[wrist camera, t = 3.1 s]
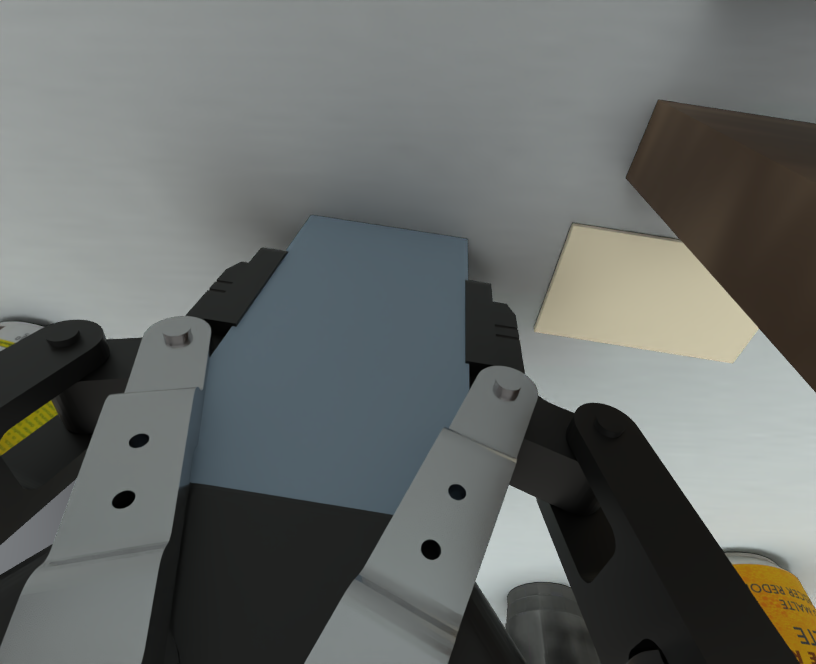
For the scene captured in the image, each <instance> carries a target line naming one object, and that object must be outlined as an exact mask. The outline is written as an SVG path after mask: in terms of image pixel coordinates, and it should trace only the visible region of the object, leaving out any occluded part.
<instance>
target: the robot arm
mask: <svg viewBox="0 0 816 664" xmlns="http://www.w3.org/2000/svg"><path fill="white" fill-rule="evenodd" d="M287 253H288V251H282V250H276V249H269V248H261V249H260V250H259V251H258V252H257V253H256V255H255V256H254V257H253V258H252V260H251V261H250V262H249V263H246V262H240V263H238V264H236V265H234V266H232V267H230V268H228V269H226V270H225V271H224V272H223V273H222V275H221V276H220V277H219V278H218V279H217V282H215V283H214V284H213V285H212V286H211V287H210V290H208V291H207V292H206V293H205V294H204V295H203V296H202V297H201V299H200V300H199V301H198V302H197V303H196V304H195V305H194V307H193V308H192V309H191V310H190V311H189V312H188V313H187V314H186V316H177V317H171V318H167V319H164V320H161V321H159V322H157V323H155V324H153V325H152V326H150V327H149V328H148V329H147V330H146V332H145V333H144V335H143V337H142V338H127V339H108V340H106V338H105V335H104V332H103V329H102V328H101V326H99V325H98V324H97V323H94V322H91V321H87V320H68V321H62V322H58V323H54V324H51V325H48V326H46V327H44V328H42V329H40V330H38V331H36V332H34V333H32V334H31V335H29V336H27V337H25V338H23V339H22V340H20V341H18V342H16V343H14V344H13V345H11V346H9V347H7V348H5V349H3V350H2V351H0V440H1V438H2V437H3V435H4V434H5V433H6V432H7V431H8V430H9V429H11V428H12V427H13V426H15V425H16V424H18V423H19V422H20V421H22V420H23V419H25V418H26V417H28V416H29V415H31V414H32V413H33V412H35V411H36V410H38V409H39V408H41V407H42V406H44V405H45V404H46V403H48V402H49V401H52V403H53V405H54V407H55V409H56V411H57V413H58V415H56V416H55V417H53V418H52V419H51V420H49V421H48V422H47V423H45V424H44V425H42V426H41V427H40V428H38V429H37V430H36V431H34V432H33V433H31V434H30V435H29V436H27V437H26V438H25V439H23V440H22V441H20V442H19V443H18V444H16V445H15V446H14V447H12V448H11V449H9V450H8V451H7V452H5V453H4V454H3V455H1V456H0V545H1V544H2V543H3V542H4V541H5V540H7V539H8V538H9V537H10V536H11V535H12V534H14V532H16V531H17V530H18V529H19V528H20V527H21V526H23V525H24V524H25V523H26V522H27V521H28V520H29V519H31V518H32V517H33V516H34V515H35V514H36V513H37V512H39V511H40V510H41V509H42V508H43V507H44V506H45V505H47V503H49V502H50V501H51V500H52V499H53V498H55V497H56V496H57V495H58V494H59V493H60V492H61V491H63V490H64V489H65V488H66V487H67V486H68V485H69V484H71V483H72V482H73V481H74V480H75V479H76V478H77V479H76V482H75V485H74V488H73V490H72V493H71V496H70V499H69V501H68V504H67V507H66V510H65V512H64V515H63V518H62V521H61V524H60V526H59V529H58V531H57V534H56V537H55V540H54V542H53V544H52V545H50V546H49V547H47V548H45V549H43V550H42V551H40V552H38V553H37V554H35V555H33V556H32V557H30V558H28V559H26V560H25V561H23V562H21V563H20V564H18V565H16V566H15V567H13V568H11V569H10V570H8V571H6V572H5V573H3V574H1V575H0V664H527V662H526V660H525V659H524V657H523V656H522V654H521V653H520V651H519V649H518V648H517V646H516V645H515V643H514V642H513V640H512V638H511V637H510V635H509V634H508V632H507V631H506V629H505V627H504V626H503V624H502V623H501V621H500V620H499V618H498V616H497V615H496V613H495V612H494V610H493V609H492V607H491V605H490V604H489V602H488V601H487V599H486V598H485V596H484V594H483V593H482V591H481V590H480V588H479V586H478V585H477V583H476V582H475V580H476V578H477V575H478V572H479V569H480V566H481V563H482V560H483V557H484V555H485V552H486V549H487V546H488V543H489V540H490V537H491V535H492V532H493V529H494V526H495V523H496V520H497V517H498V514H499V512H500V509H501V506H502V503H503V500H504V497H505V494H506V492H507V489H508V486H509V485H511V486H513V487H515V488H517V489H520V490H522V491H524V492H526V493H528V494H530V495H532V496H535V497H536V499H537V503H538V505H539V508H540V510H541V513H542V516H543V518H544V521H545V523H546V526H547V528H548V531H549V533H550V536H551V538H552V541H553V543H554V546H555V548H556V551H557V553H558V556H559V558H560V561H561V563H562V566H563V568H564V571H565V573H566V576H567V579H568V581H569V584H570V586H571V589H572V591H573V594H574V596H575V599H576V601H577V604H578V606H579V609H580V611H581V614H582V616H583V619H584V621H585V624H586V626H587V629H588V631H589V634H590V636H591V639H592V642H593V644H594V647H595V649H596V652H597V654H598V657H599V659H600V662H601V664H800V662H799V661H798V660H797V658H796V657H795V655H794V654H793V652H792V651H791V649H790V648H789V646H788V645H787V644H786V642H785V641H784V639H783V638H782V636H781V635H780V633H779V632H778V630H777V629H776V627H775V626H774V625H773V623H772V622H771V620H770V619H769V617H768V616H767V614H766V613H765V611H764V610H763V609H762V607H761V606H760V604H759V603H758V601H757V600H756V598H755V597H754V595H753V594H752V593H751V591H750V590H749V588H748V587H747V585H746V584H745V582H744V581H743V579H742V578H741V577H740V575H739V574H738V572H737V571H736V569H735V568H734V566H733V565H732V563H731V562H730V561H729V559H728V558H727V556H726V555H725V553H724V552H723V550H722V549H721V547H720V546H719V544H718V543H717V542H716V540H715V539H714V537H713V536H712V534H711V533H710V531H709V530H708V528H707V527H706V526H705V524H704V523H703V521H702V520H701V518H700V517H699V515H698V514H697V512H696V511H695V510H694V508H693V507H692V505H691V504H690V502H689V501H688V499H687V498H686V496H685V495H684V494H683V492H682V491H681V489H680V488H679V486H678V485H677V483H676V482H675V480H674V479H673V477H672V476H671V475H670V473H669V472H668V470H667V469H666V467H665V466H664V464H663V463H662V461H661V460H660V459H659V457H658V456H657V454H656V453H655V451H654V450H653V448H652V447H651V445H650V444H649V443H648V441H647V440H646V438H645V437H644V435H643V434H642V432H641V431H640V429H639V428H638V427H637V425H636V424H635V423H634V422H633V421H632V420H631V419H630V418H629V417H628V416H627V415H626V414H624V413H623V412H621V411H620V410H618V409H616V408H614V407H611V406H609V405H605V404H601V403H587V404H583V405H581V406H580V407H579V408H577V410H576V411H575V413H573V412H570V411H568V410H565V409H563V408H560V407H558V406H555V405H553V404H551V403H549V402H547V401H545V400H544V399H542V398H541V397H539V396H538V390H537V387H536V385H535V384H534V382H533V381H532V380H531V379H530V378H529V377H528V376H526V375H525V371H524V365H523V359H522V353H521V346H520V340H519V334H518V330H517V328H518V327H517V321H516V315H515V314H514V313H513V312H512V310H511V309H510V308H509V306H508V305H507V304H504V303H498V302H493V300H492V289H491V284H489V283H483V282H477V281H470V280H465V363H466V364H469V392H468V394H467V396H466V397H465V399H464V401H463V403H462V405H461V406H460V408H459V410H458V412H457V414H456V416H455V417H454V419H453V421H452V423H451V425H450V426H449V428H448V427H444V428H443V429H442V430H441V432H440V434H439V435H438V437H437V439H436V441H435V442H434V444H433V446H432V448H431V450H430V451H429V453H428V455H427V457H426V458H425V460H424V462H423V464H422V465H421V467H420V469H419V471H418V473H417V474H416V476H415V478H414V480H413V481H412V483H411V485H410V487H409V489H408V490H407V492H406V494H405V496H404V497H403V499H402V501H401V503H400V504H399V506H398V508H397V510H396V512H395V513H394V515H391V514H385V513H379V512H373V511H367V510H361V509H355V508H348V507H342V506H336V505H330V504H324V503H318V502H312V501H305V500H299V499H293V498H287V497H281V496H275V495H268V494H262V493H256V492H250V491H244V490H238V489H231V488H225V487H219V486H213V485H206V484H198V483H191V482H190V476H191V469H192V462H193V456H194V451H195V448H196V446H198V441H199V434H200V426H201V419H202V412H203V404H204V397H205V390H206V383H207V375H208V368H209V361H210V357H211V355H212V354H213V352H214V351H215V350H216V348H217V347H218V345H219V344H220V343H221V341H222V340H223V338H224V337H225V335H226V334H227V333H228V331H229V330H230V328H231V327H232V326H235V327H237V325H238V324H239V322H240V321H241V319H242V318H243V316H244V315H245V314H246V312H247V311H248V309H249V308H250V306H251V305H252V304H253V302H254V301H255V299H256V298H257V296H258V295H259V293H260V292H261V291H262V289H263V288H264V286H265V285H266V283H267V282H268V281H269V279H270V278H271V276H272V275H273V273H274V272H275V270H276V269H277V268H278V266H279V265H280V263H281V262H282V260H283V259H284V257H285V256H286V255H287Z"/></svg>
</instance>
